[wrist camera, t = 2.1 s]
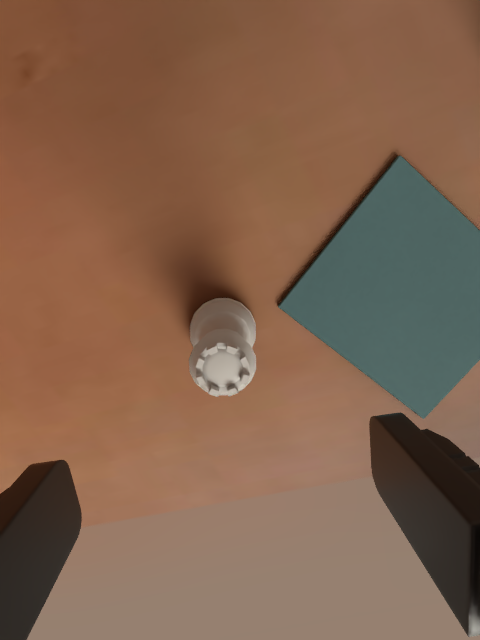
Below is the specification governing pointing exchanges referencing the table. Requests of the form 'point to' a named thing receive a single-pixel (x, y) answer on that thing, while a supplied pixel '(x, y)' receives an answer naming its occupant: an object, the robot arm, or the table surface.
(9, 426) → the table surface
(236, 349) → the rook chess piece
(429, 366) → the felt mat
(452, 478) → the robot arm
